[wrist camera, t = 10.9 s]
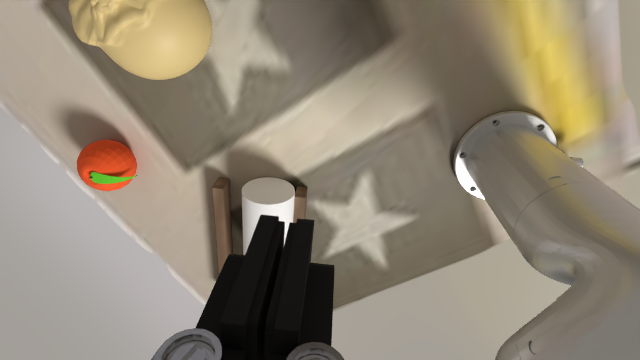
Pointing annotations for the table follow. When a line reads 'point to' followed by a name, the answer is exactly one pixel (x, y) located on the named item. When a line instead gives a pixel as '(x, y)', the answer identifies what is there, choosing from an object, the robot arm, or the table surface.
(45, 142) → the table surface
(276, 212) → the cylindrical container
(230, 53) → the table surface
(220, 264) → the cradle rails
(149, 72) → the pale yellow lumpy blob
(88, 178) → the clementine
